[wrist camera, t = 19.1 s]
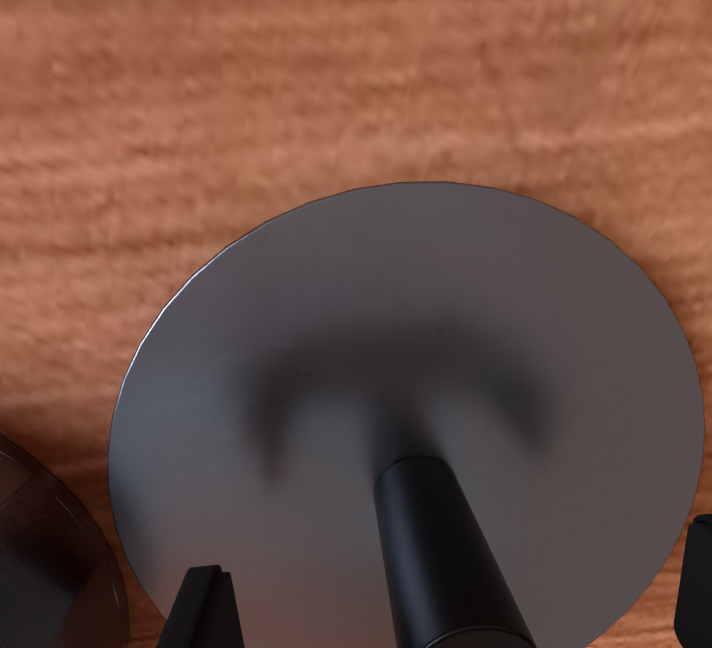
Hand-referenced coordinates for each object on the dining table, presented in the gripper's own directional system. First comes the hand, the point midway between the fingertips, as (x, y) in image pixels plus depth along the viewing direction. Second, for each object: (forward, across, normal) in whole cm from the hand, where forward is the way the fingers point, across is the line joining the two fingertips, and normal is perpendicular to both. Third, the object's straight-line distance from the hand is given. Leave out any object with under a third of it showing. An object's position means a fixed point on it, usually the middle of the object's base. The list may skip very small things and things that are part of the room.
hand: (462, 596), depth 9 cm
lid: (+4, 0, 0) cm, 4 cm away
